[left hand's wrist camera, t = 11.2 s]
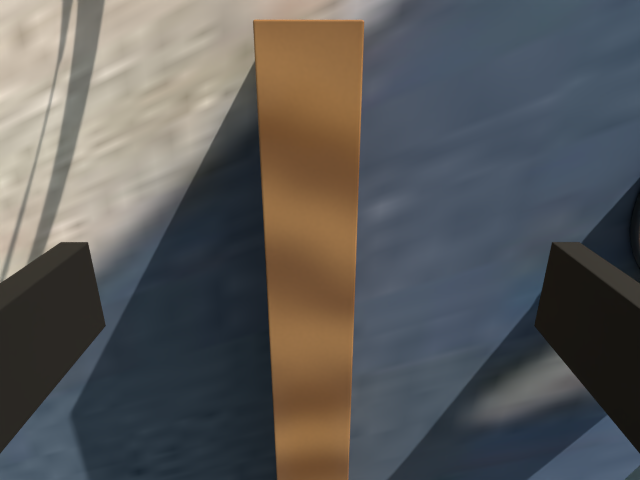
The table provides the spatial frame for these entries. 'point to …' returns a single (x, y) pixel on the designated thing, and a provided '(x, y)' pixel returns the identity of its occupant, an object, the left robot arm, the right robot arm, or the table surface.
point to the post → (310, 233)
